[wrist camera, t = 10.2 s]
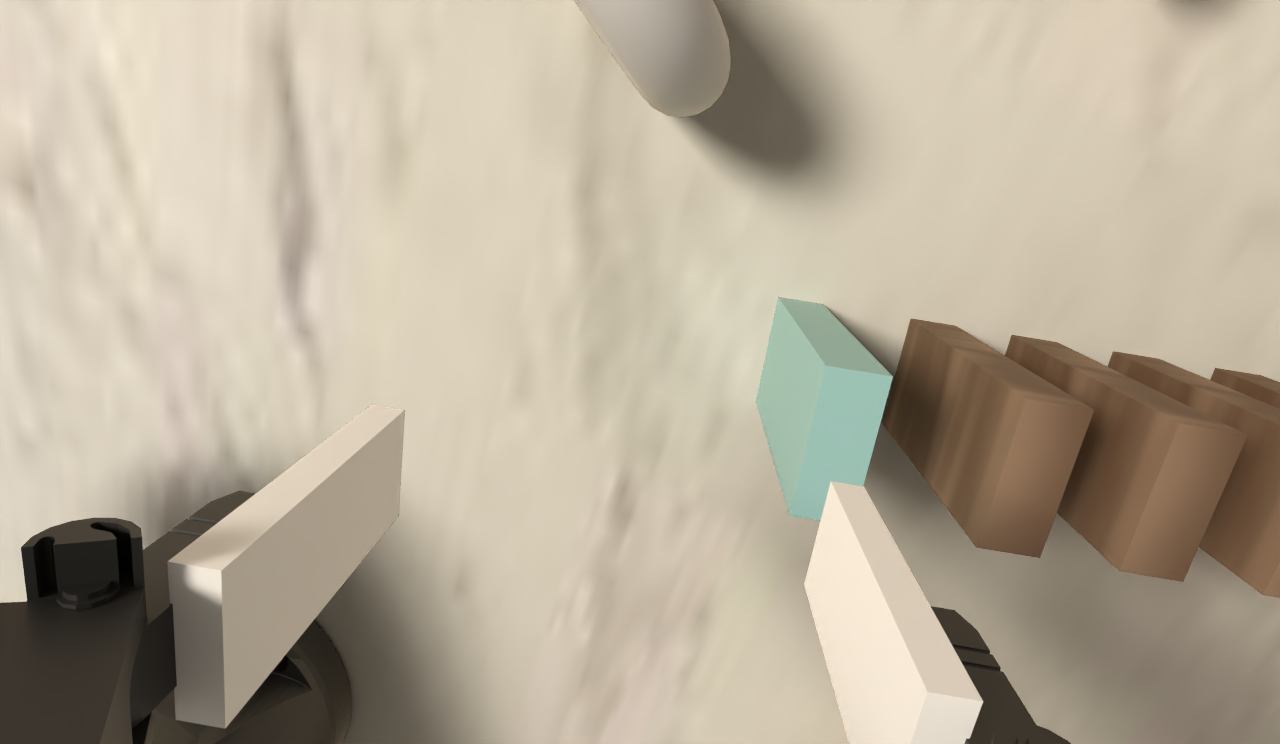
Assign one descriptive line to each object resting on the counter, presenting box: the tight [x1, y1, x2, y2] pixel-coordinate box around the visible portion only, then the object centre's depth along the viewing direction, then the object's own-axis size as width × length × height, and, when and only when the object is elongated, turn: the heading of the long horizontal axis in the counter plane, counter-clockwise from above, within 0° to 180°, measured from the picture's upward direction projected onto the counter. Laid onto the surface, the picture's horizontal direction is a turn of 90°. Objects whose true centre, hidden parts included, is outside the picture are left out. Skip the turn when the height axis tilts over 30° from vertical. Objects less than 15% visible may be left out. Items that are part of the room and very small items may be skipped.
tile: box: [756, 297, 893, 521], centre depth 27 cm, size 2×5×11 cm, turn 171°
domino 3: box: [1108, 352, 1280, 598], centre depth 26 cm, size 2×5×11 cm, turn 171°
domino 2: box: [1005, 335, 1248, 582], centre depth 26 cm, size 2×5×11 cm, turn 171°
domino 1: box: [882, 319, 1094, 558], centre depth 26 cm, size 2×5×11 cm, turn 171°
